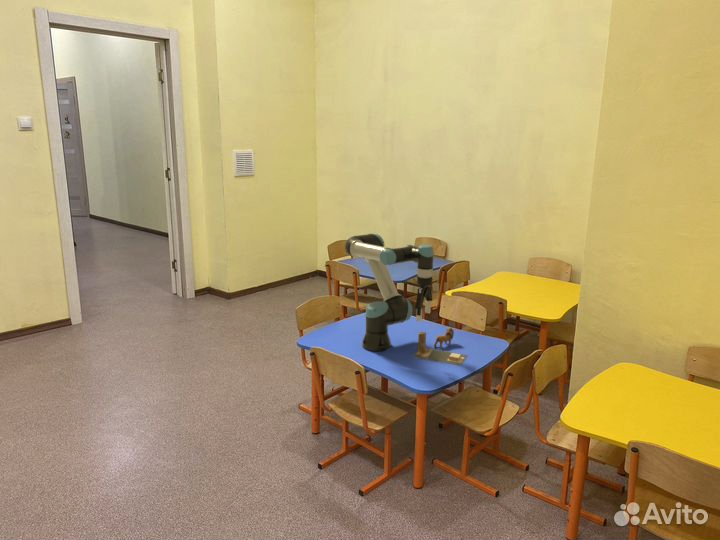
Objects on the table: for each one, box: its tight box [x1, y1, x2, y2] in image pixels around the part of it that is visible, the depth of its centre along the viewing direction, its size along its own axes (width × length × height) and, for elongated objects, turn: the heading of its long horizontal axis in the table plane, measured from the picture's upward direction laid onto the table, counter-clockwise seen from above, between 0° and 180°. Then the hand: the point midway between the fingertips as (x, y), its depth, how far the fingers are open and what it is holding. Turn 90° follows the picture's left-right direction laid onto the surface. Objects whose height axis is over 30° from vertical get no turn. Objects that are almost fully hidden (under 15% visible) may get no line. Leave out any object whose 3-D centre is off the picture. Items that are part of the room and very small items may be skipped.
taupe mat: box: [412, 347, 469, 367], centre depth 271 cm, size 25×14×1 cm, turn 65°
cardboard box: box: [416, 331, 433, 357], centre depth 273 cm, size 6×9×11 cm, turn 155°
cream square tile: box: [449, 352, 462, 361], centre depth 268 cm, size 5×5×2 cm
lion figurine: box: [433, 327, 455, 350], centre depth 284 cm, size 15×5×9 cm, turn 136°
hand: (423, 316), depth 270 cm, fingers open, 13 cm apart
